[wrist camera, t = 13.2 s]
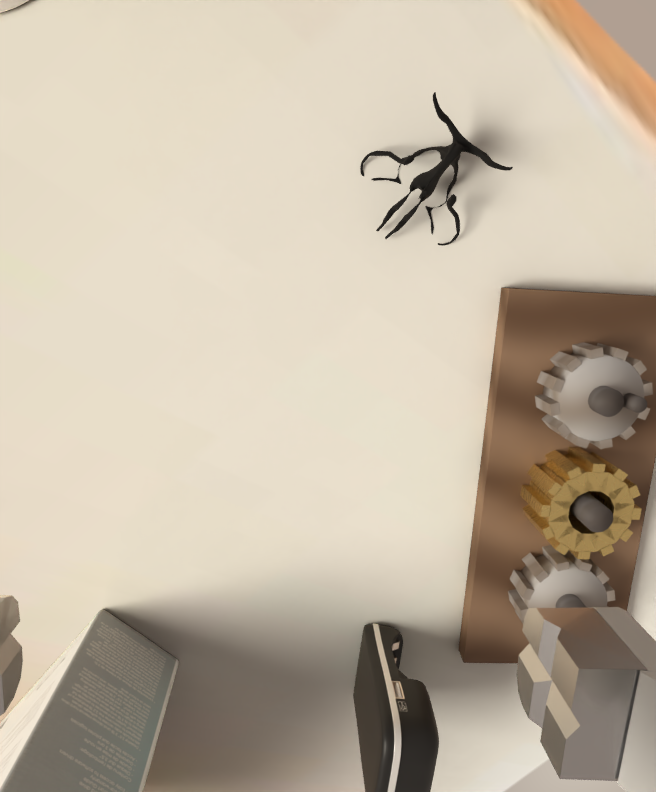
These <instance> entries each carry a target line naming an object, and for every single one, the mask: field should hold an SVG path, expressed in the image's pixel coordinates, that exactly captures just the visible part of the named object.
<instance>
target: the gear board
mask: <svg viewBox="0 0 656 792" xmlns="http://www.w3.org/2000/svg"><path fill="white" fill-rule="evenodd" d="M569 447H580V448H581V449H583V450H584V451H586V452H587V453H589V454H590V453H591V452H594V453H595V454H597V455H599V456H600V457H602V458H603V459H605V460H606V461H608V462H609V463H611V464H613V465H614V466H616V467H617V468H619V469H620V470H622V471H623V472H625V473H626V474H628V476H627V477H626V478H627V479H628V480H630V481H631V482H633V483H634V484H636V485H637V488H638V490H639V493H640V496H638V497H636V498H634V499H633V501H634V503H635V504H636V505H637V506H639V507H640V508H642V510H641V515H640V520H631V524H630V526H629V527H628V529H629V530H631V531H632V532H633V534H632V535H631V536H630V538H629V539H628V540H627V541H626V542H625V541H623V540H622V539H620V538H619V540H618V541H617V542H616V541H615V542H616V543H614V544H612V547H613V549H614V552H612V553H609V554H607V555H605V556H602V555H601V554H600V553H599V552H598V551H597V552H596V551H595V552H590V558H589V559H577V558H576V557H575V556H574V555H573V554H572V553H571V552H570V551H569V550H568V552H567V553H566V554H565V555H563V554H562V553H560V552H558V551H557V550H555V549H554V548H553V546H552V545H551V544H550V543H549V542H548V541H547V540H546V539H545V538H544V536H543V535H542V534H541V533H540V532H539V531H538V530H537V529H536V528H535V526H534V525H533V524H532V523H531V522H530V521H529V520H528V518H527V517H526V515H525V513H524V511H523V509H522V508H523V507H525V506H527V505H529V504H528V503H527V502H526V501H525V500H524V499H523V498H522V497H521V489H522V485H530V481H531V479H532V477H531V476H530V475H529V474H528V473H527V472H528V471H529V470H530V468H531V467H532V466H533V464H535V465H537V466H538V467H541V466H542V465H544V463H546V462H548V461H547V459H546V457H545V455H546V454H548V453H550V452H552V451H554V450H556V451H557V452H559V453H560V454H562V455H563V454H568V448H569ZM655 458H656V296H645V295H626V294H608V293H590V292H572V291H553V290H535V289H517V288H501V297H500V305H499V314H498V322H497V330H496V339H495V347H494V356H493V364H492V372H491V381H490V389H489V398H488V406H487V414H486V423H485V431H484V440H483V448H482V456H481V465H480V473H479V482H478V490H477V498H476V507H475V515H474V524H473V532H472V541H471V549H470V557H469V566H468V574H467V583H466V591H465V599H464V608H463V616H462V625H461V633H460V641H459V652H460V655H461V657H462V659H463V662H464V663H518V657H519V654H520V653H521V652H522V651H523V650H524V649H525V648H526V647H527V645H528V644H529V641H528V640H527V638H526V636H525V634H524V633H523V631H522V629H523V623H524V617H525V615H526V613H527V610H528V608H589V607H619V608H622V609H624V610H626V611H627V606H628V601H629V595H630V590H631V585H632V580H633V574H634V569H635V564H636V558H637V553H638V548H639V542H640V537H641V532H642V526H643V521H644V516H645V511H646V505H647V500H648V495H649V489H650V484H651V479H652V473H653V468H654V463H655ZM569 512H571V513H572V514H573V515H574V516H575V517H576V518H577V519H578V520H579V521H580V522H582V523H583V524H584V525H585V526H586V527H587V528H588V529H589V530H591V531H592V532H597V533H598V532H603V531H605V530H607V529H608V528H609V527H610V526H611V524H612V522H613V514H612V512H611V510H610V509H608V508H607V507H606V506H605V505H603V504H602V503H601V502H600V501H598V500H597V499H596V498H595V497H593V496H592V495H591V494H589V493H588V492H586V493H584V494H581V495H579V496H577V498H576V499H575V500H574V502H573V503H572V504H571V505H570V509H569Z"/></svg>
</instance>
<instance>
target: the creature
mask: <svg viewBox="0 0 656 792" xmlns="http://www.w3.org/2000/svg"><path fill="white" fill-rule="evenodd" d="M433 102H434V106H435V109H436V112H437V115H438V117H439V118H440V119H441V120H442V121H443V122H445V123H446V124H447V126H448V128H449V130H450V132H451V134H452V136H453V143H452V144H451V145H449V146H446V147H442V146H440V147H430V148H426V149H422V150H419V151H417V152H415V153H414V154H413V155H411V156H408V157H405V158H402V159H400V158H399V157H397V156H396V155H394V154H393V153H392V152H388V151H374V152H371V153H369V154H368V155H367V156H366V157H365V158H364V159H363V161H362V163H361V174H362V176H364V174H363V171H362V168H363V163H364V162H365V161H366V160H367V158H368V157H369V156H389V157H391V158H392V159H394V160H395V161H397V162H398V163H401V164H404V165H407V164H409V163H411V162H412V161H413V160H414V158H415V157H416V156H419V155H420V154H422V153H423V152H425V151H429V150H437V151H439V152H440V155H441V159H442V161H441V162H440V163H439V164H438V165H437V166H435V167H434V168H433V169H431V170H429V171H428V172H425V173H422V174H420V175H418V176H417V177H416V178H414V180H413V181H412V183H411V185H410V192H409V194H410V193H411V192H412V191H414V190H415V189H417V188H419V189H420V190H422V193H421V195H420V196H419V198H420V199H421V200H420V202H419V204H418V205H416V206H415V207H414V208H413V209H412V210H411V211H410V212H409V213H408V214H406V215H405V216H404V217H403V219H402V220H401V221H400V222H399V223H398V225H397V226H396V227H395V228H394V230H392V231H391V232H390V233H389V234H388V235H387V236H386V237H385V239H387V238H388V237H390V236H391V235H392V234H393V233H395V232H397V231H398V230H399V229H400V228H401V227H403V226H404V225H405V223H406V222H407V221H408V220H409V219H410V218H411V217H412V215H413V214H414V213H415V212H416V210H417V208H418V206H419V205H420V203H421V202H422V201H424V200H425V199H426V198H428V197H429V196H430V195H431V194H432V193H433V191H434V189H435V187H436V185H437V183H438V181H439V179H440V177H441V175H442V174H443V173H444V171H445V170H446V169H447V168H448V167H449V166H450V164H451V165H452V166H453V168H454V173H455V174H454V178H453V180H452V182H451V183H450V185H449V187H448V190H447V197H446V202H447V207H448V209H449V211H450V212H451V213H452V214H453V216H454V217H455V222H456V230H457V234H456V235H455V236H454V238H453V239H452V240H451V242H448V243H445V244H439V243H438V245H447V244H450V243H452V242H453V241H454V240H456V238H457V237H458V235H459V231H460V220H459V216H458V214H457V213H456V211H455V210H454V209H453V208H452V206H453V205H454V204H455V202H456V196H455V195H454V194H453V195H451V197H450V198H449V199H448V201H447V198H448V194H449V192H450V190H451V189H452V187H453V185H454V184H455V182H456V179H457V173H458V160H459V158H460V154H461V152H469V153H471V154H474V155H476V156H478V157H480V158H481V159H482V160H483V161H484V162H485V163H486V164H487V165H489V166H491V167H493V168H496V169H500V170H511V169H512V168H513V167H505V166H502V165H499V164H497V163H495V162H493V161H492V160H491V158H490V157H489V156H488V155H487V154H486V153H485V152H483V151H482V150H480V149H479V148H477V147H475V146H474V145H472V144H471V143H470V142H468V141H467V140H466V139H465V138H464V137H463V136H462V135H461V134H460V133H459V131H458V130H457V128H456V127H455V125H454V124H453V123H452V121H451V120H450V119H449V118H448V116H447V115H446V114H444V112H443V111H442V110H441V108H440V107H439V104H438V102H437V98H436V92H435V93H434V94H433ZM401 164H400V165H401ZM399 168H400V166H399ZM398 170H399V169H398ZM371 180H374V181H375V180H389V181H394V182H397V183H399V184H401V183H400V180H399V178H398V176H397V178H396V179H387V178H373V179H371ZM409 194H408V195H407V196H405V197H404V198H403V199H401V200H400V201H399V202H398V203H397V204H395V205H394V206H393V207H392V208H391V209H390V210H389V211H388V213H387V215H386V217H385V218H384V220H383V223H382V224H381V225H380V226H379V228H378V229H377V230H376V231H379V230H380V229H381V228H382V227H383V226H384V225H385V224H386V222H387V221H388V220H389V219H390V218H391V216H392V215H393V214H394V213H395V212H396V211H397V210H398V209H399V208H400V207H401V206H402V205H403V203H404V202H405V201H406V199H407V198H408V196H409ZM446 202H445V203H446ZM445 203H444V204H445ZM442 205H443V204H442ZM442 205H440V206H442ZM440 206H439V207H440ZM436 208H437V207H436ZM426 209H427V211H428V214H429V216H430V219H431V233H433V228H434V227H433V222H432V218H431V213H430V211H431V210H432V209H433V208H430V207H427V206H426ZM432 235H433V234H432Z"/></svg>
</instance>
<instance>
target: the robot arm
mask: <svg viewBox="0 0 656 792" xmlns="http://www.w3.org/2000/svg"><path fill="white" fill-rule="evenodd" d="M27 1H29V0H0V13H1V12H5V11H8V10H10V9H13V8H16V7H18V6H20V5H22V4H24V3H25V2H27ZM19 622H20V616H19V606H18V601H17V600H16V599H15V598H14V597H13V596H10V595H0V715H2V714H4V713H5V711H6V709H7V708H8V706H9V705H10V703H11V701H12V700H13V698H14V696H15V693H16V690H17V687H18V684H19V681H20V678H21V671H22V662H23V659H22V646H21V645H20V644H19V643H18V642H17V640H16V639H15V638H14V637H13V636H12V635H11V632H12V631H13V630H14V628H15V627H16V626H17V625H18V623H19ZM522 631H523V633H524V634H525V636H526V638H527V640H528V641H529V644H528V645H527V647H526V648H525V649H524V650H523V651H522V652H521V653H520V654H519V657H518V666H517V682H518V692H519V695H520V699H521V702H522V705H523V707H524V710H525V712H526V714H527V716H528V718H529V719H530V720H532V721H533V722H534V723H536V724H537V725H539V726H540V727H541V728H542V735H541V741H540V742H541V743H542V745H543V747H544V749H545V751H546V753H547V755H548V757H549V759H550V761H551V763H552V765H553V767H554V769H555V770H556V772H557V774H558V776H559V778H560V779H578V780H608V781H618V783H617V784H618V785H619V786H621V787H622V788H623V789H624V790H625V791H627V792H656V641H655V640H654V639H653V638H652V637H651V636H650V635H649V634H648V633H647V632H646V631H645V630H644V629H643V628H642V627H641V625H640V624H639V623H638V622H637V621H636V620H635V619H634V618H633V617H632V616H631V615H630V614H629V613H628V612H627V611H626V610H624V609H622V608H619V607H589V608H528V610H527V613H526V615H525V617H524V623H523V629H522Z"/></svg>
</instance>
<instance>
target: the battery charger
mask: <svg viewBox="0 0 656 792" xmlns="http://www.w3.org/2000/svg"><path fill="white" fill-rule="evenodd" d="M402 646H403V639H402V635H401V634H400V632H399V631H398V630H397V629H395V628H393V627H389V626H383V625H378V624H372V625H371V624H367V625H365V626H364V629H363V635H362V642H361V648H360V654H359V661H358V667H357V674H356V680H355V687H354V703H355V711H356V718H357V726H358V735H359V744H360V753H361V761H362V769H363V777H364V784H365V792H430V790H431V785H432V780H433V775H434V770H435V764H436V759H437V754H438V747H439V737H438V730H437V726H436V721H435V717H434V713H433V709H432V705H431V701H430V698H429V695H428V692H427V690H426V687H425V685H424V684H423V683H422V682H420V681H418V680H413V679H407V677H406V676H405V675H404V674H403V673H401V672H400V670H399V664H400V658H401V652H402Z"/></svg>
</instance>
